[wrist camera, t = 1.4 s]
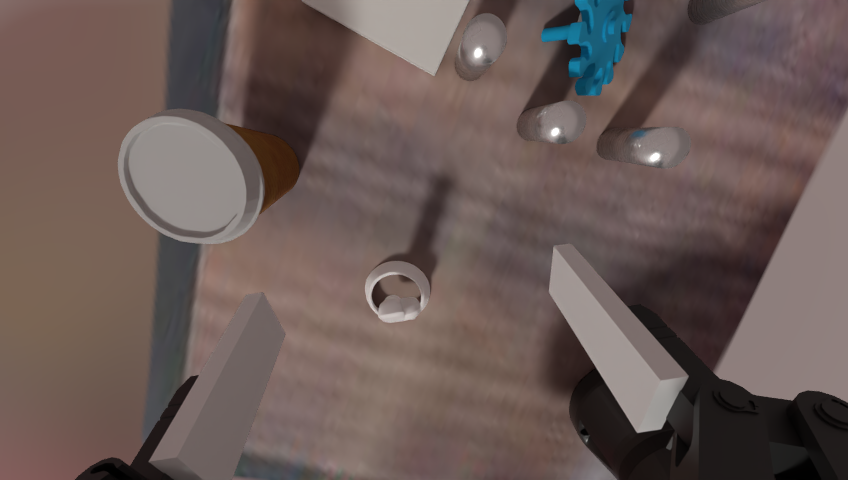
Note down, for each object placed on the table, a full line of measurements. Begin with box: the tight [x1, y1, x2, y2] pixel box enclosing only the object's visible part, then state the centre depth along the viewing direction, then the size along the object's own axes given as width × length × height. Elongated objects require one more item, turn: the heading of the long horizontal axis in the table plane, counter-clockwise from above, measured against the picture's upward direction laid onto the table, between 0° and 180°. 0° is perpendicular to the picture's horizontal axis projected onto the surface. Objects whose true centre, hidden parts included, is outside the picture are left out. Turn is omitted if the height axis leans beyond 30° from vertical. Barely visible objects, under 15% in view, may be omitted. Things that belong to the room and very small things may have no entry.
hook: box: [365, 261, 430, 323], centre depth 34 cm, size 8×12×7 cm
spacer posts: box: [455, 0, 766, 169], centre depth 25 cm, size 19×18×8 cm
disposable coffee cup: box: [118, 109, 299, 244], centre depth 27 cm, size 10×10×12 cm
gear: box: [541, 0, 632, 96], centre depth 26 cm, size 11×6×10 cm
